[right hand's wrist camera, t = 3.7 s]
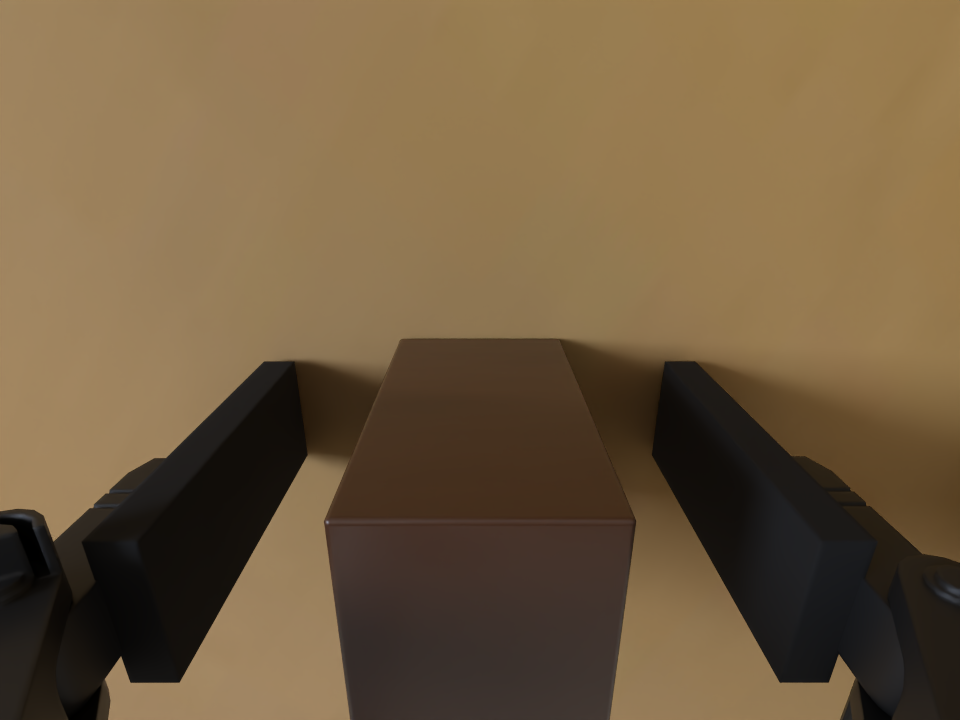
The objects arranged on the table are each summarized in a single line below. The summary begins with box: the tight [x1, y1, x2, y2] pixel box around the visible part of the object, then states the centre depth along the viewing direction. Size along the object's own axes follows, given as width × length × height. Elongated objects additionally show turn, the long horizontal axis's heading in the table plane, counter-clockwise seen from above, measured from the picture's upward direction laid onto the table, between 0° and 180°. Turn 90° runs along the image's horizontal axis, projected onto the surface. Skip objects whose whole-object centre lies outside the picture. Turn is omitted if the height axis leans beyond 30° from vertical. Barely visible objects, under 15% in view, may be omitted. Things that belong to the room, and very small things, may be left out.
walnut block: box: [324, 339, 636, 720], centre depth 11 cm, size 4×4×7 cm
